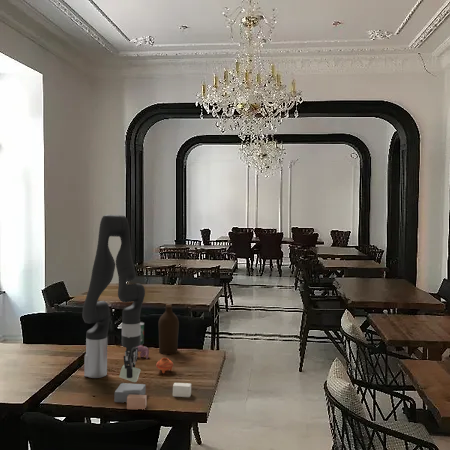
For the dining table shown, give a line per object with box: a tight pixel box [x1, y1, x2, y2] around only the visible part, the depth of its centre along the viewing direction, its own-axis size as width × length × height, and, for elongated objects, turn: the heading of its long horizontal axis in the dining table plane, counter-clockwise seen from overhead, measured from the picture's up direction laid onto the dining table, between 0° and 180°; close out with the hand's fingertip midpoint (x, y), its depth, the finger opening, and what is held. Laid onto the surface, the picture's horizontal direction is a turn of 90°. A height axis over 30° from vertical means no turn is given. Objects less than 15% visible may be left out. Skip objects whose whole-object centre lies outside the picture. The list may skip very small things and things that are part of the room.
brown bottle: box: [157, 303, 180, 355], centre depth 276 cm, size 11×11×25 cm
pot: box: [155, 357, 174, 374], centre depth 246 cm, size 8×8×7 cm
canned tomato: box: [140, 321, 145, 346], centre depth 290 cm, size 8×8×11 cm
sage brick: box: [118, 364, 141, 384], centre depth 213 cm, size 7×4×4 cm, turn 85°
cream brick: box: [172, 382, 192, 398], centre depth 218 cm, size 7×4×4 cm, turn 85°
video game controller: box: [137, 345, 150, 360], centre depth 266 cm, size 10×5×7 cm, turn 92°
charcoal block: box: [113, 382, 147, 404], centre depth 213 cm, size 10×10×4 cm
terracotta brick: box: [126, 394, 148, 411], centre depth 204 cm, size 7×4×4 cm, turn 88°
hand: (130, 375), depth 213 cm, fingers closed on sage brick, 3 cm apart
